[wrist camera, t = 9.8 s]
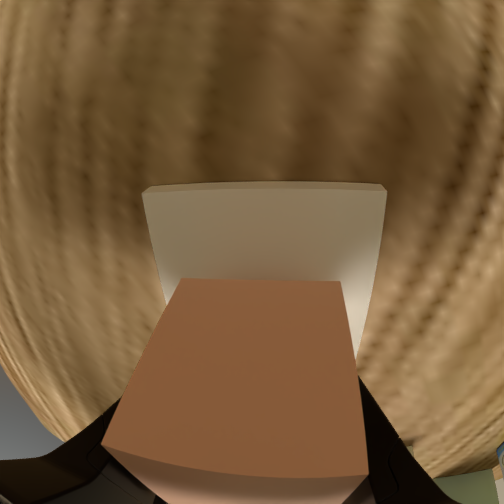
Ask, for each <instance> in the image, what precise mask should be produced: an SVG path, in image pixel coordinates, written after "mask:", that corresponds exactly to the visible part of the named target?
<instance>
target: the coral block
mask: <svg viewBox="0 0 504 504" xmlns="http://www.w3.org/2000/svg"><path fill="white" fill-rule="evenodd" d="M101 445H102V446H103V447H104V448H105V449H106V450H107V451H108V452H109V453H110V454H111V455H112V456H113V457H114V458H115V459H116V460H117V461H118V462H119V463H121V464H122V465H123V466H124V467H125V468H126V469H127V470H128V471H129V472H130V473H131V474H133V475H134V476H135V477H136V478H137V479H138V480H140V481H141V482H142V483H143V484H144V485H145V486H147V487H148V488H149V489H150V490H152V491H153V492H154V493H155V494H157V495H158V496H159V497H160V498H162V499H163V500H164V501H166V502H167V503H168V504H342V503H343V502H344V500H345V499H346V498H347V497H348V496H349V495H350V494H351V493H352V492H353V491H354V490H355V489H356V488H357V487H358V486H359V485H360V483H361V482H362V481H363V480H364V479H365V478H366V477H367V476H368V474H369V471H368V459H367V447H366V437H365V428H364V419H363V411H362V403H361V395H360V388H359V381H358V374H357V368H356V361H355V355H354V349H353V344H352V338H351V332H350V327H349V321H348V316H347V311H346V306H345V301H344V296H343V291H342V287H341V282H340V281H284V280H234V279H200V278H181V280H180V282H179V283H178V285H177V287H176V289H175V291H174V293H173V295H172V297H171V299H170V301H169V302H168V304H167V306H166V308H165V310H164V312H163V314H162V316H161V318H160V320H159V322H158V324H157V326H156V328H155V330H154V332H153V334H152V336H151V338H150V340H149V342H148V344H147V346H146V348H145V350H144V352H143V354H142V356H141V358H140V360H139V362H138V364H137V366H136V368H135V370H134V372H133V375H132V377H131V379H130V381H129V383H128V385H127V387H126V389H125V391H124V394H123V396H122V398H121V400H120V402H119V404H118V407H117V409H116V411H115V413H114V415H113V418H112V420H111V422H110V424H109V427H108V429H107V431H106V434H105V436H104V438H103V440H102V443H101Z"/></svg>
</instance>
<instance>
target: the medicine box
mask: <svg viewBox="0 0 504 504" xmlns="http://www.w3.org/2000/svg"><path fill="white" fill-rule="evenodd" d="M497 455H498V459H499V462H500V466H501V470H502V474H503V479H504V442H503V443H502V444H501V445H500V446H499V447H498V449H497Z"/></svg>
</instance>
